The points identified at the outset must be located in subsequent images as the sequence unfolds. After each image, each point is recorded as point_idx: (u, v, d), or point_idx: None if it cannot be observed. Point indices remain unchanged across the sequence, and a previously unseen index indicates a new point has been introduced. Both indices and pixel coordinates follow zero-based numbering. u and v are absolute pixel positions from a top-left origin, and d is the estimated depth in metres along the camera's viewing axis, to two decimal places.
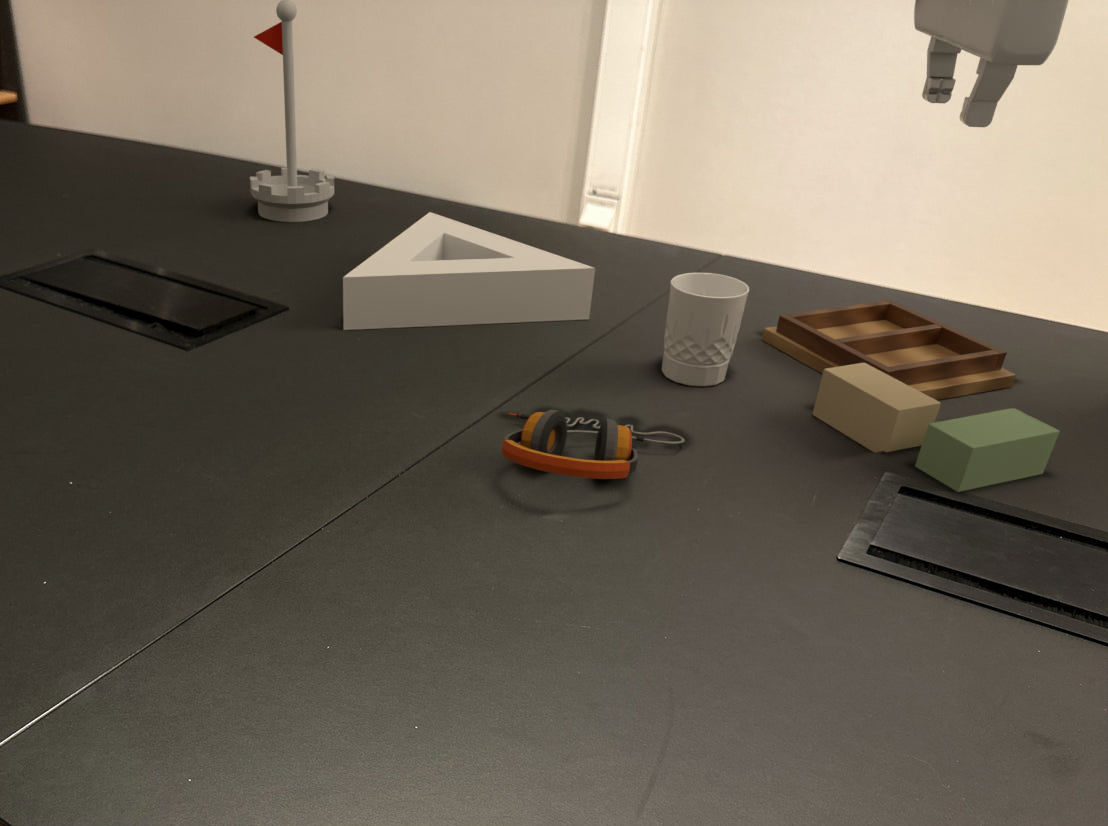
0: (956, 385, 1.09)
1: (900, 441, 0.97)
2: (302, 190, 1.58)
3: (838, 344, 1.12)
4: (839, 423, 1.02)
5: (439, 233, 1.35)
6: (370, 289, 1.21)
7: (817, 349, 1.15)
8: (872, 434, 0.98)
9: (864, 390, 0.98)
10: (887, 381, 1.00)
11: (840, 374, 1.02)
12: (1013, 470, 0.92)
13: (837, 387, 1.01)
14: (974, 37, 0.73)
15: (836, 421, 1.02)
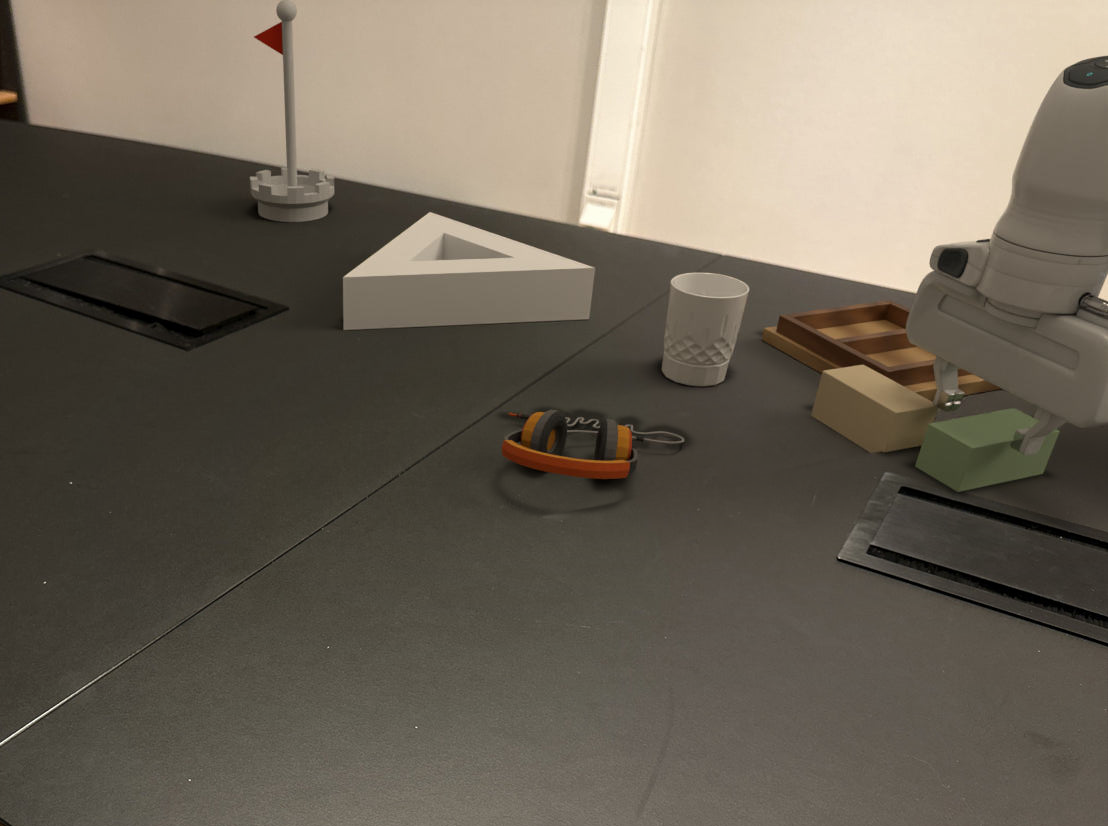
0: None
1: (897, 443, 0.97)
2: (302, 190, 1.58)
3: (838, 344, 1.12)
4: (837, 425, 1.02)
5: (439, 233, 1.35)
6: (370, 289, 1.21)
7: (817, 349, 1.15)
8: (870, 436, 0.98)
9: (862, 392, 0.99)
10: (885, 383, 1.00)
11: (838, 376, 1.02)
12: (1013, 470, 0.92)
13: (835, 389, 1.02)
14: (1040, 394, 0.85)
15: (835, 423, 1.02)
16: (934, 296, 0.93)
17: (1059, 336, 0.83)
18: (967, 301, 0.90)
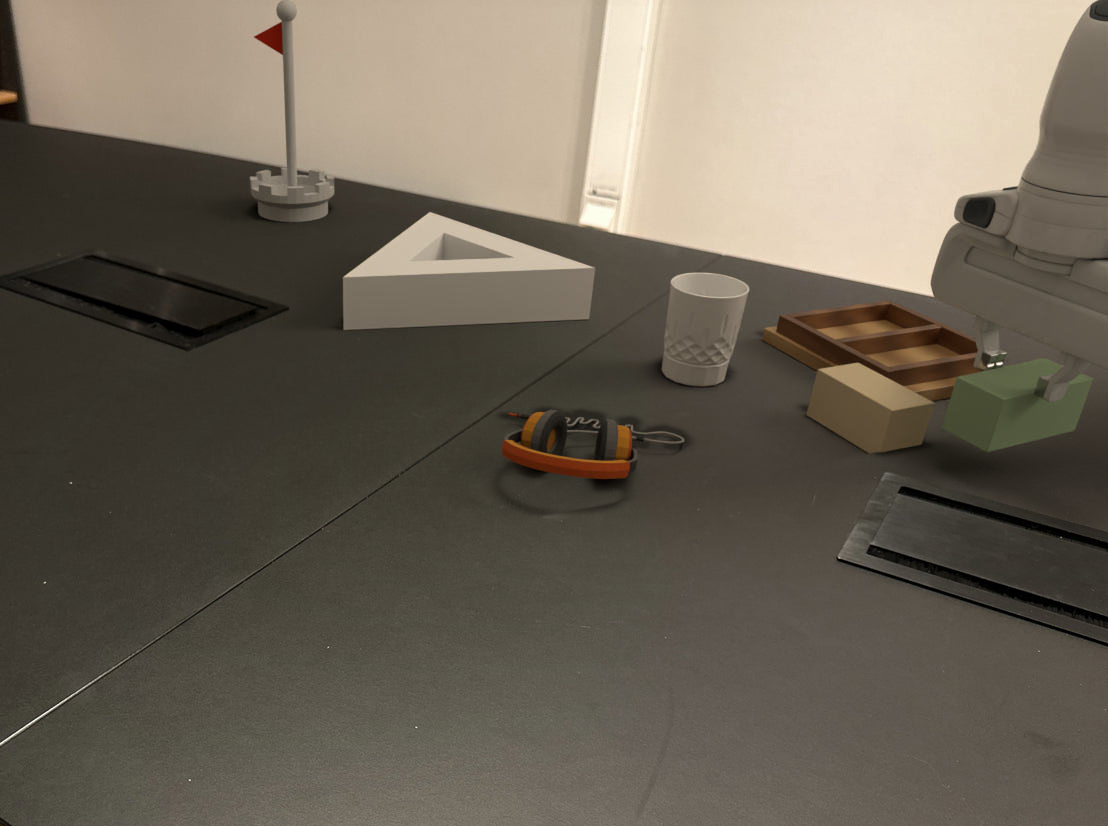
0: None
1: (893, 441, 0.97)
2: (302, 190, 1.58)
3: (838, 344, 1.12)
4: (833, 423, 1.02)
5: (439, 233, 1.35)
6: (370, 289, 1.21)
7: (817, 349, 1.15)
8: (866, 434, 0.98)
9: (858, 390, 0.98)
10: (881, 381, 1.00)
11: (834, 374, 1.02)
12: (1046, 421, 0.90)
13: (830, 387, 1.01)
14: (1076, 343, 0.82)
15: (830, 422, 1.02)
16: (960, 249, 0.90)
17: (1096, 282, 0.80)
18: (995, 251, 0.87)
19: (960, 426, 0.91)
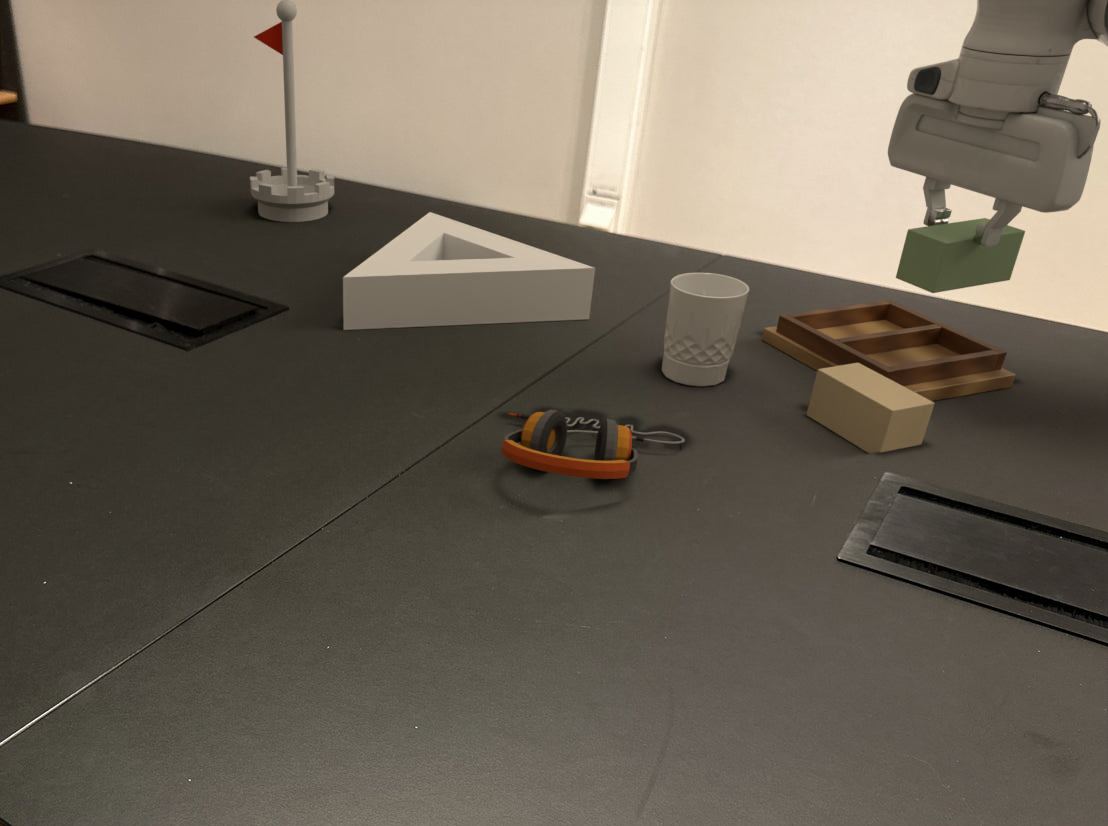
0: (956, 385, 1.09)
1: (893, 441, 0.97)
2: (302, 190, 1.58)
3: (838, 344, 1.12)
4: (833, 423, 1.02)
5: (439, 233, 1.35)
6: (370, 289, 1.21)
7: (817, 349, 1.15)
8: (866, 434, 0.98)
9: (858, 390, 0.98)
10: (881, 381, 1.00)
11: (834, 374, 1.02)
12: (984, 268, 1.04)
13: (830, 387, 1.01)
14: (1007, 189, 0.96)
15: (830, 422, 1.02)
16: (912, 118, 1.04)
17: (1022, 132, 0.93)
18: (941, 116, 1.01)
19: (910, 273, 1.05)
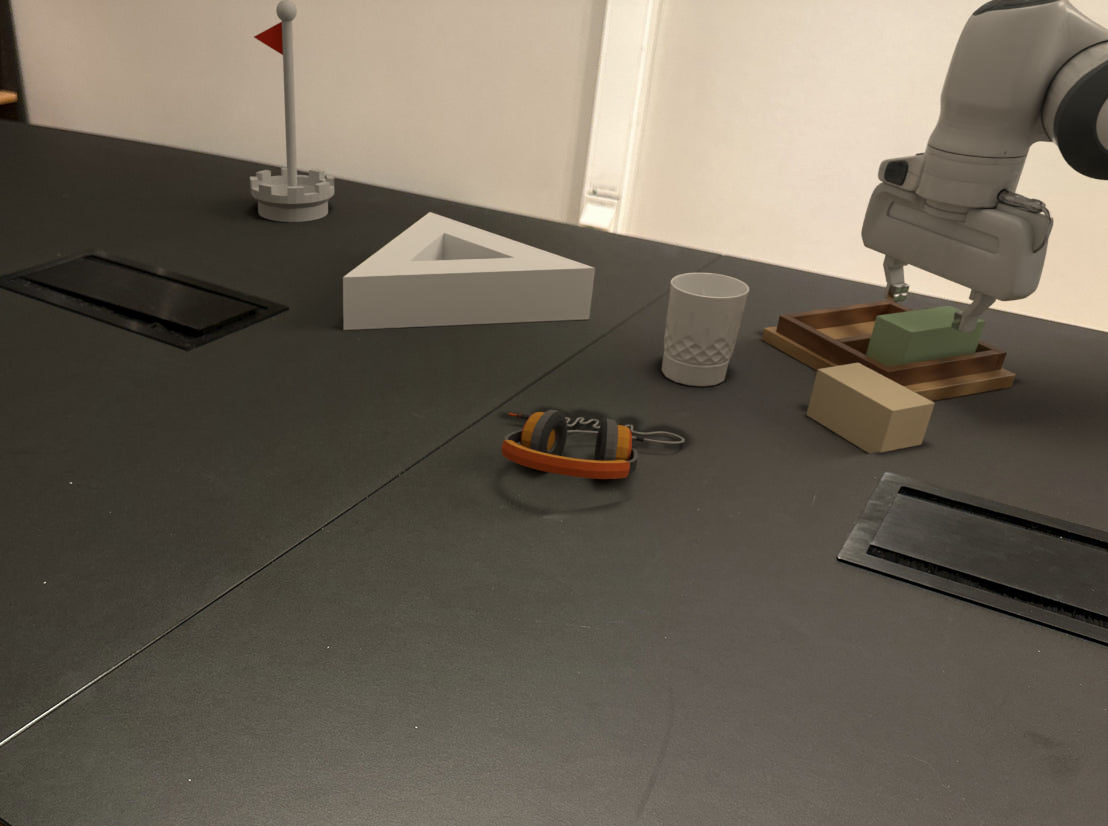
0: (956, 385, 1.09)
1: (893, 441, 0.97)
2: (302, 190, 1.58)
3: (838, 344, 1.12)
4: (833, 423, 1.02)
5: (439, 233, 1.35)
6: (370, 289, 1.21)
7: (817, 349, 1.15)
8: (866, 434, 0.98)
9: (858, 390, 0.98)
10: (881, 381, 1.00)
11: (834, 374, 1.02)
12: (947, 354, 1.11)
13: (830, 387, 1.01)
14: (969, 277, 1.02)
15: (830, 422, 1.02)
16: (883, 204, 1.10)
17: (983, 226, 1.00)
18: (909, 205, 1.07)
19: (878, 356, 1.12)
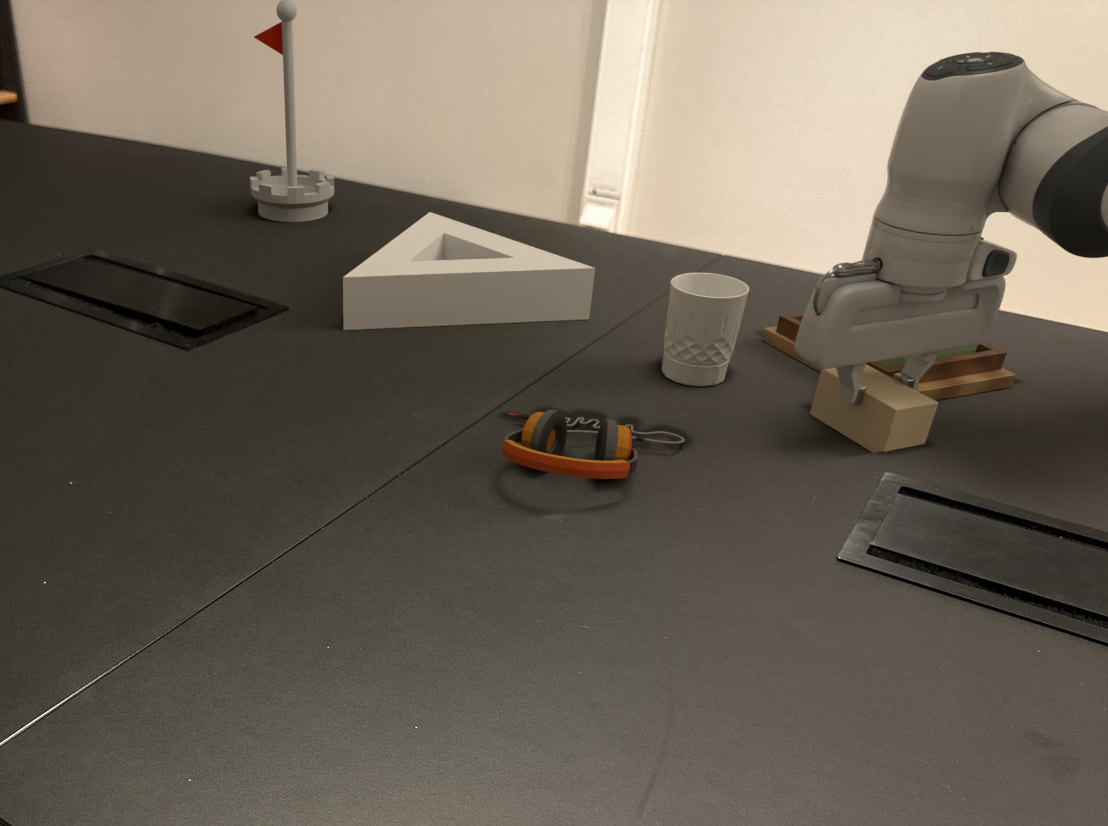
0: (956, 385, 1.09)
1: (897, 440, 0.97)
2: (302, 190, 1.58)
3: None
4: (836, 422, 1.02)
5: (439, 233, 1.35)
6: (370, 289, 1.21)
7: None
8: (870, 433, 0.98)
9: None
10: (884, 381, 1.00)
11: None
12: (947, 354, 1.11)
13: (834, 386, 1.02)
14: None
15: (834, 421, 1.02)
16: None
17: None
18: None
19: None
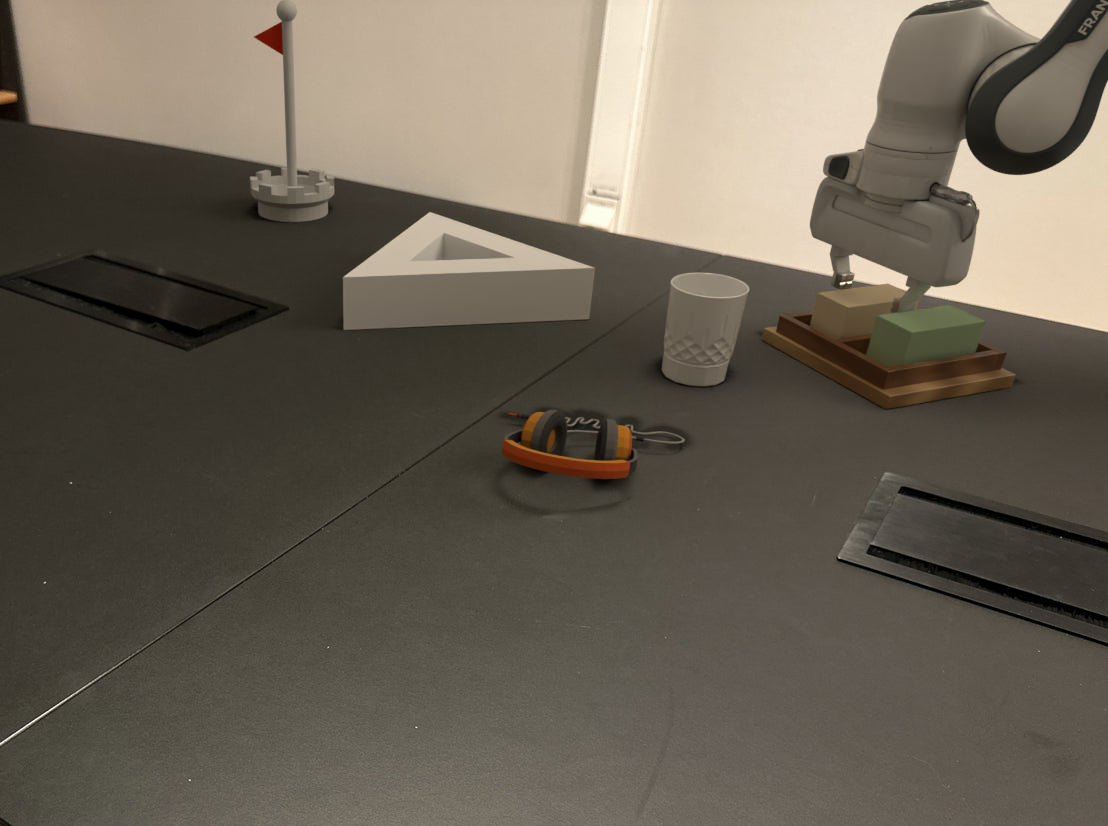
0: (956, 385, 1.09)
1: None
2: (302, 190, 1.58)
3: (838, 344, 1.12)
4: None
5: (439, 233, 1.35)
6: (370, 289, 1.21)
7: (817, 349, 1.15)
8: None
9: (887, 301, 1.15)
10: (858, 291, 1.18)
11: (856, 303, 1.14)
12: (947, 354, 1.11)
13: (862, 313, 1.14)
14: (905, 265, 1.09)
15: None
16: (829, 197, 1.17)
17: (916, 217, 1.07)
18: (852, 198, 1.14)
19: (878, 356, 1.12)
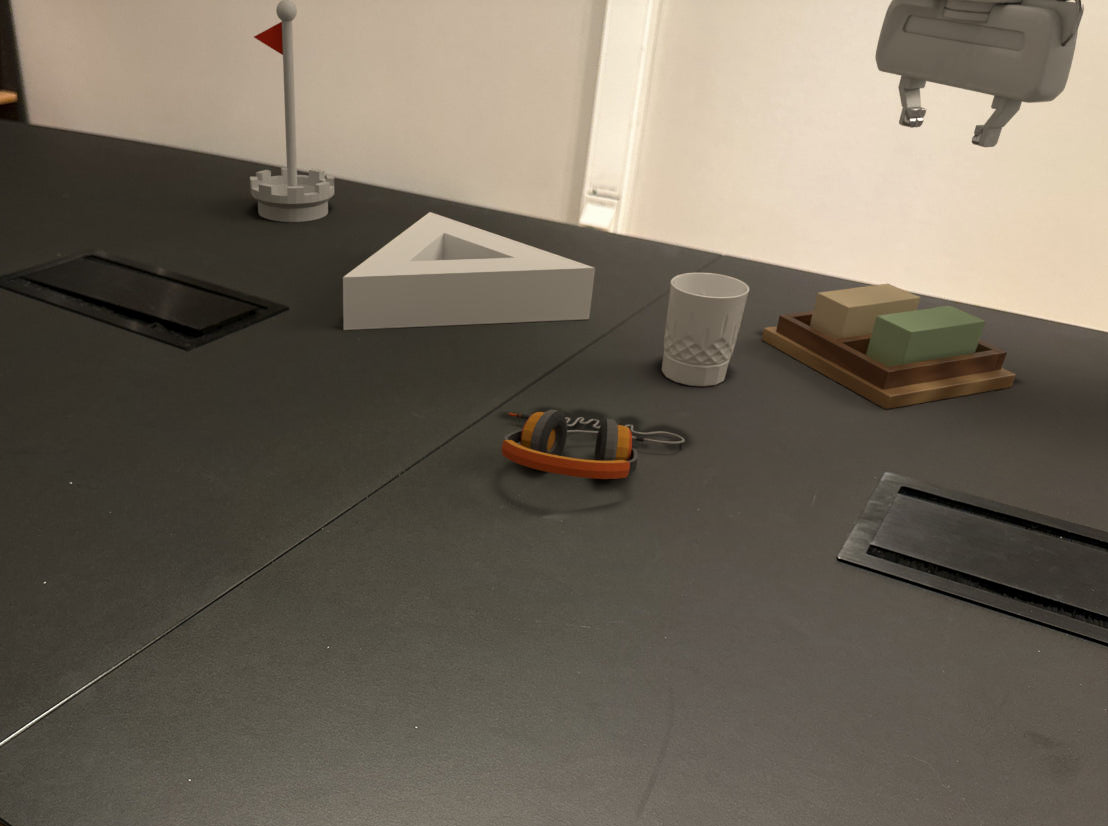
0: (956, 385, 1.09)
1: None
2: (302, 190, 1.58)
3: (838, 344, 1.12)
4: None
5: (439, 233, 1.35)
6: (370, 289, 1.21)
7: (817, 349, 1.15)
8: None
9: (887, 301, 1.15)
10: (858, 291, 1.18)
11: (856, 303, 1.14)
12: (947, 354, 1.11)
13: (862, 313, 1.14)
14: (992, 82, 0.96)
15: None
16: (899, 19, 1.04)
17: (1007, 23, 0.94)
18: (928, 15, 1.01)
19: (878, 356, 1.12)
